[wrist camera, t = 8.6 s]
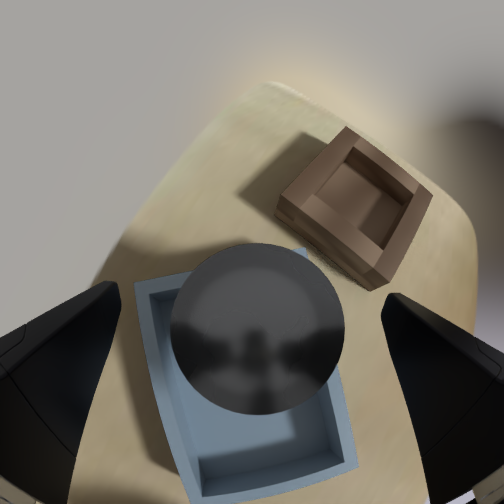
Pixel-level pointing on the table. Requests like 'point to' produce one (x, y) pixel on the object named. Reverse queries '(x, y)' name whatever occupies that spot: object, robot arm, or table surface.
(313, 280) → the metallic grey cylinder
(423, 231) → the table surface
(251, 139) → the table surface
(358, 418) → the table surface
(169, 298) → the tray
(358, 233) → the socket block
